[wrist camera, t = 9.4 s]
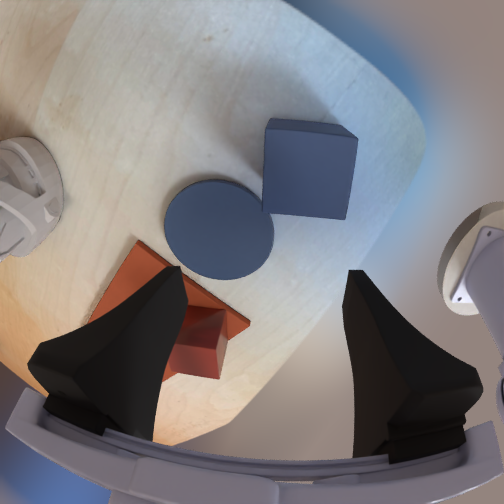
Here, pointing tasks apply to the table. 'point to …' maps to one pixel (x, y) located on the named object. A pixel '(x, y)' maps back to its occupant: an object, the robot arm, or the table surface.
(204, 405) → the table surface
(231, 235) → the blue coaster
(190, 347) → the red block
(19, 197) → the grey mechanical part
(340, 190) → the blue block
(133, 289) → the terracotta mat
